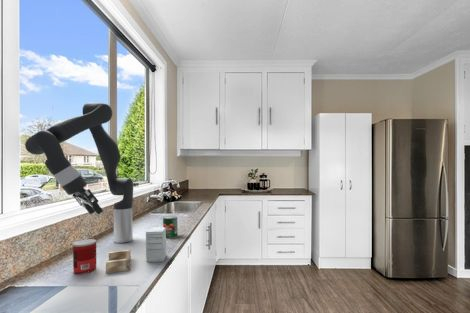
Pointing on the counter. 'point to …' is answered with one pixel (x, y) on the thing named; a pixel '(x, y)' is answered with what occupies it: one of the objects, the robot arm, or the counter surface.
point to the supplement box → (155, 244)
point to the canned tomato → (170, 226)
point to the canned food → (84, 256)
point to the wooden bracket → (118, 261)
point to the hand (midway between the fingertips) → (96, 212)
